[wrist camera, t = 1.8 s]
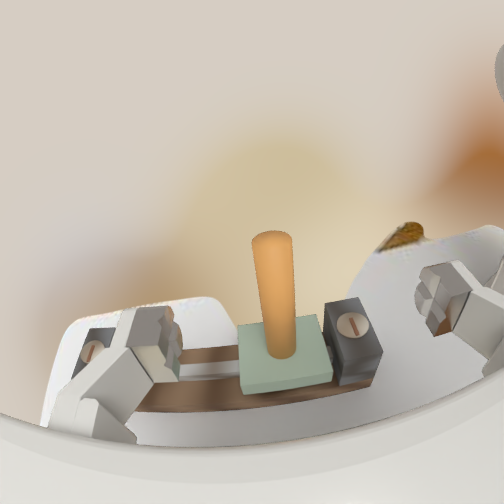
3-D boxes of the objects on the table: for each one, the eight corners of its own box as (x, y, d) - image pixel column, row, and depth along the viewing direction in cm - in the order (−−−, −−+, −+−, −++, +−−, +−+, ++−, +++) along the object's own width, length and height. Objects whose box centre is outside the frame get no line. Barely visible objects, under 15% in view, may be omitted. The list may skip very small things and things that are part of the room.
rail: (351, 335, 35) (358, 294, 31) (370, 386, 28) (384, 348, 24) (112, 361, 36) (88, 326, 31) (100, 408, 29) (68, 376, 25)
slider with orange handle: (315, 325, 33) (316, 210, 25) (331, 381, 26) (347, 263, 18) (240, 336, 33) (214, 224, 25) (243, 394, 27) (209, 283, 18)
